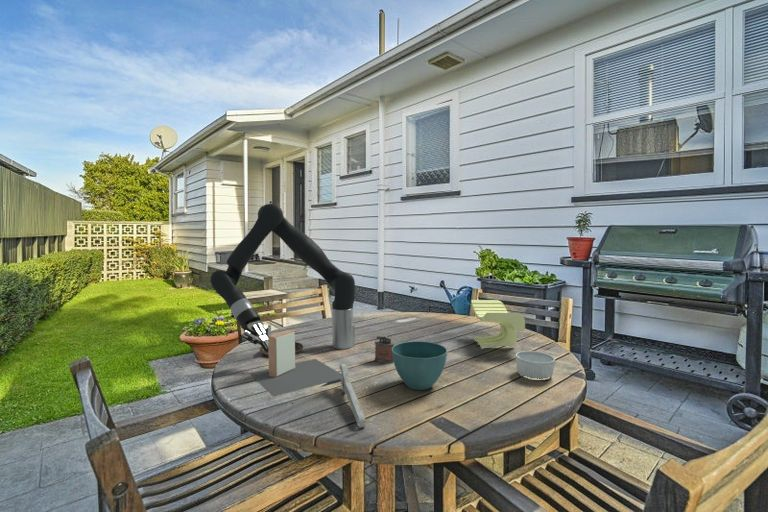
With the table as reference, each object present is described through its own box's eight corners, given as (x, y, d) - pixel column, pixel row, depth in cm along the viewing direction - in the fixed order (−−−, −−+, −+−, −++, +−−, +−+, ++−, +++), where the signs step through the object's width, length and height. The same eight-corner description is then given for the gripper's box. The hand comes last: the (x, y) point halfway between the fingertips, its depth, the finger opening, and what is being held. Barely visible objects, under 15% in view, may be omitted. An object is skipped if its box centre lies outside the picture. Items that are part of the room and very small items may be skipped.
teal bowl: (432, 401, 116) (432, 361, 115) (381, 388, 125) (381, 351, 124) (454, 381, 131) (455, 346, 130) (407, 371, 140) (408, 338, 140)
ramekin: (556, 385, 128) (556, 364, 128) (514, 379, 133) (514, 360, 133) (553, 371, 141) (553, 353, 140) (515, 367, 145) (515, 349, 145)
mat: (315, 361, 151) (315, 358, 151) (347, 380, 132) (347, 377, 132) (248, 375, 136) (248, 373, 136) (273, 399, 117) (273, 396, 117)
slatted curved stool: (524, 355, 159) (525, 312, 158) (485, 355, 160) (486, 312, 158) (503, 335, 189) (504, 300, 188) (470, 335, 190) (471, 299, 188)
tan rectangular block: (268, 375, 133) (268, 336, 133) (288, 366, 142) (288, 329, 141) (276, 377, 132) (275, 337, 131) (295, 368, 141) (295, 330, 140)
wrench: (358, 439, 100) (338, 383, 128) (365, 438, 100) (344, 382, 129) (359, 411, 98) (339, 360, 127) (366, 410, 99) (344, 360, 127)
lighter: (395, 361, 152) (395, 336, 151) (391, 363, 149) (392, 338, 148) (377, 358, 155) (377, 334, 154) (373, 361, 152) (373, 336, 151)
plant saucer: (292, 362, 150) (292, 355, 150) (251, 359, 154) (251, 352, 154) (309, 349, 168) (309, 342, 168) (272, 346, 171) (272, 340, 171)
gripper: (235, 310, 137) (260, 348, 132) (263, 304, 149) (287, 339, 144) (225, 323, 140) (250, 361, 135) (253, 316, 152) (277, 351, 147)
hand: (269, 350), depth 139 cm, fingers closed
